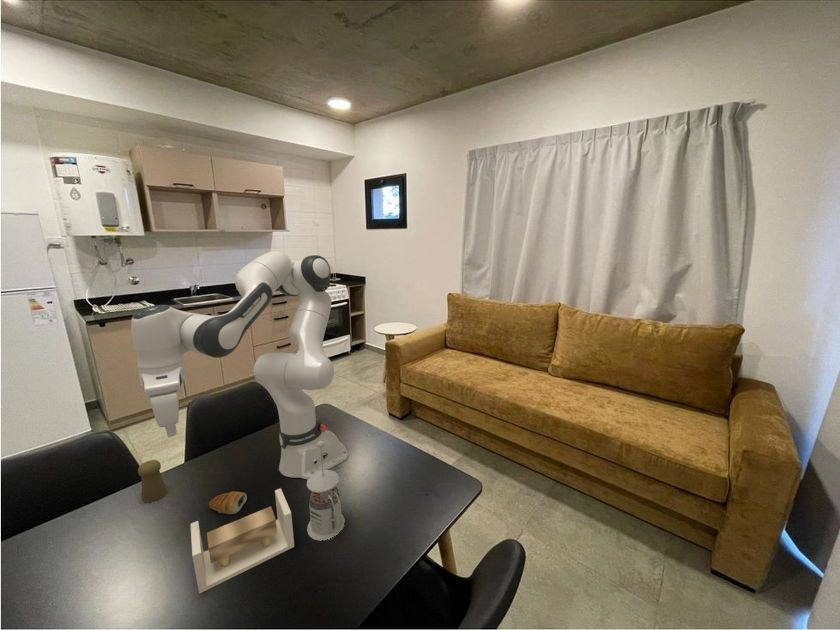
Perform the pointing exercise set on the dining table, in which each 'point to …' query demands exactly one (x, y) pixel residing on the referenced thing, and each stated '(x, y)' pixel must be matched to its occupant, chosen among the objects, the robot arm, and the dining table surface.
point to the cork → (152, 481)
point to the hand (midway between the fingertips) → (172, 426)
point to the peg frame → (242, 550)
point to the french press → (324, 504)
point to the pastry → (228, 502)
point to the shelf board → (241, 533)
